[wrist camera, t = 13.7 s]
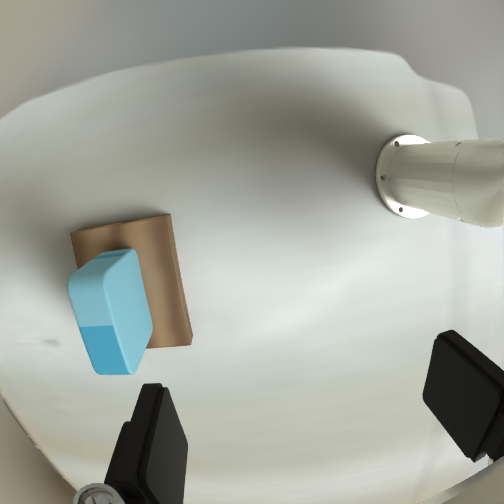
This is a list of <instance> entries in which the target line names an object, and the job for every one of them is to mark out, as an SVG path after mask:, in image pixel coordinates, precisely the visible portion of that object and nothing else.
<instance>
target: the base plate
mask: <svg viewBox="0 0 504 504" xmlns="http://www.w3.org/2000/svg"><path fill="white" fill-rule="evenodd" d="M70 234H71V239H72V244H73V249H74V253H75V258H76V262H77V266H78V269H80V268H81V267H82V266H84V265H85V264H87V263H88V262H89V261H91V260H92V259H94V258H95V257H97V256H98V255H99V254H101V253H102V252H108V251H115V250H123V249H130V248H133V249H134V250H135V251H136V253H137V255H138V260H139V265H140V270H141V275H142V279H143V284H144V289H145V293H146V298H147V302H148V306H149V310H150V315H151V319H152V325H153V331H152V335H151V337H150V339H149V342H148V344H147V346H146V349H147V348H162V347H175V346H187V345H191V342H192V337H193V333H192V329H191V324H190V319H189V315H188V310H187V305H186V300H185V295H184V290H183V285H182V279H181V274H180V269H179V263H178V258H177V252H176V246H175V240H174V234H173V228H172V221H171V215H170V214H168V215H162V216H155V217H149V218H143V219H136V220H130V221H124V222H118V223H113V224H107V225H101V226H96V227H90V228H85V229H80V230H77V231H75V232H73V233H70Z"/></svg>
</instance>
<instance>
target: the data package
mask: <svg viewBox="0 0 504 504" xmlns="http://www.w3.org/2000/svg"><path fill="white" fill-rule="evenodd" d="M68 294H69V297H70V301H71V304H72V308H73V311H74V314H75V317H76V321H77V324H78V327H79V330H80V333H81V336H82V339H83V341H84V344H85V347H86V350H87V352H88V355H89V358H90V360H91V363H92V366H93V368H94V370H95V372H96V373H97V374H100V375H132V374H135V372H136V371H137V368H138V366H139V363H140V361H141V358H142V356H143V354H144V351H145V349H146V346H147V344H148V342H149V339H150V337H151V335H152V331H153V325H152V319H151V315H150V310H149V306H148V302H147V298H146V293H145V289H144V284H143V279H142V275H141V270H140V265H139V260H138V255H137V253H136V251H135V250H134V249H133V248H130V249H123V250H115V251H108V252H102V253H101V254H99V255H98V256H97V257H95V258H94V259H92V260H91V261H89V262H88V263H87V264H85V265H84V266H82V267H81V268H80V269H78V270H77V271H75V272H74V273H73V274H71V276H70V277H69V280H68Z"/></svg>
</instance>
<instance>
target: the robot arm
mask: <svg viewBox="0 0 504 504" xmlns="http://www.w3.org/2000/svg"><path fill="white" fill-rule="evenodd" d="M394 144H395V146H394ZM381 176H382V179H381ZM376 183H377V188H378V191H379V194H380V196H381V198H382V200H383V201H384V203H385V204H386V205H387V207H388V208H389V209H390V210H392V211H393V212H394V213H396V214H398V215H400V216H403V217H406V218H412V219H413V218H420V217H422V216H425V215H427V214H428V213H432V214H436V215H440V216H444V217H448V218H451V219H455V220H459V221H462V222H466V223H469V224H473V225H477V226H480V227H485V228H494V227H498V226H501V225H503V224H504V138H496V139H479V140H464V141H448V142H435V143H429V142H428V141H427V140H425V139H424V138H422V137H420V136H417V135H412V134H408V135H401V136H397V137H395V138H393V139H392V140H390V141H389V142H388V143H387V144H386V145H385V146H384V148H383V149H382V151H381V153H380V155H379V157H378V160H377V164H376ZM398 209H399V210H398ZM423 400H424V402H425V404H426V405H427V406H428V407H429V409H430V410H431V411H432V413H433V414H434V415H435V416H436V418H437V419H438V420H439V422H440V423H441V424H442V426H443V427H444V428H445V430H446V431H447V432H448V433H449V435H450V436H451V437H452V439H453V440H454V441H455V443H456V444H457V445H458V447H459V448H460V449H461V451H462V452H463V453H464V455H465V456H466V457H468V458H471V460H472V461H473V462H474V463H475V462H476V461H478V460H479V459H481V458H482V457H484V456H485V455H486V453H487V455H488V456H489V460H488V467H486V468H484V469H483V470H481V471H479V472H478V473H476V474H475V475H473V476H471V477H469V478H468V479H466V480H464V481H462V482H461V483H459V484H457V485H455V486H453V487H451V488H449V489H447V490H445V491H443V492H441V493H439V494H437V495H435V496H433V497H431V498H429V499H427V500H425V501H422V502H420V503H418V504H504V371H503V370H502V369H501V368H500V367H499V366H497V365H496V364H495V363H494V362H493V361H491V360H490V359H489V358H488V357H487V356H485V355H484V354H483V353H482V352H481V351H479V350H478V349H477V348H476V347H474V346H473V345H472V344H471V343H469V342H468V341H467V340H466V339H464V338H463V337H462V336H461V335H459V334H458V333H457V332H456V331H454V330H448V331H445V332H442V333H440V334H438V336H437V338H436V339H435V340H434V344H433V350H432V355H431V360H430V364H429V369H428V373H427V378H426V382H425V386H424V390H423ZM187 453H188V443H187V439H186V436H185V434H184V431H183V429H182V426H181V423H180V421H179V418H178V415H177V412H176V410H175V407H174V404H173V401H172V398H171V395H170V392H169V390H168V388H167V387H163V386H162V384H161V383H152V384H143V386H142V389H141V391H140V394H139V397H138V400H137V403H136V406H135V409H134V412H133V415H132V418H131V421H126V422H125V423H124V424H123V426H122V429H121V432H120V434H119V437H118V440H117V443H116V446H115V449H114V452H113V455H112V459H111V462H110V465H109V468H108V471H107V474H106V478H105V481H104V484H102V483H93V484H89V485H86V486H84V487H83V488H81V489H80V490H79V491H78V492H77V493H76V495H75V497H74V500H73V504H183V497H184V486H185V474H186V464H187Z"/></svg>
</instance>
